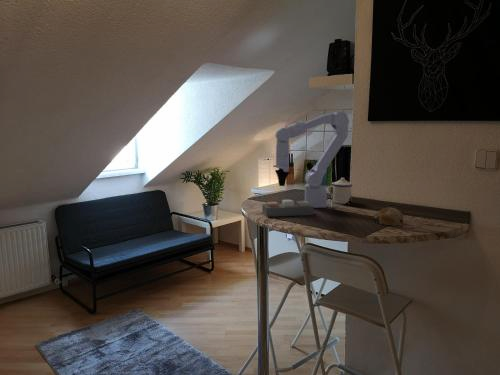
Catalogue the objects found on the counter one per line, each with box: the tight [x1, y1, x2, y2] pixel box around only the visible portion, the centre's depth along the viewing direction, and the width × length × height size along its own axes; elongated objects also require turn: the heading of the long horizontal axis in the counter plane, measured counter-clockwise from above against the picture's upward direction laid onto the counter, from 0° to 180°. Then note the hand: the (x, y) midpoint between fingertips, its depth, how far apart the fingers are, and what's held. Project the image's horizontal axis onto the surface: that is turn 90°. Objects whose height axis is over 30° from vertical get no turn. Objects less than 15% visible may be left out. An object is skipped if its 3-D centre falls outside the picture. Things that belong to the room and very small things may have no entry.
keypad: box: [261, 202, 315, 217], centre depth 172 cm, size 20×8×4 cm, turn 100°
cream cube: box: [281, 199, 295, 207], centre depth 172 cm, size 4×4×4 cm
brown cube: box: [266, 201, 279, 207], centre depth 171 cm, size 4×4×4 cm
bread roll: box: [374, 206, 404, 227], centre depth 158 cm, size 10×10×8 cm
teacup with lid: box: [327, 177, 353, 205], centre depth 197 cm, size 12×9×12 cm
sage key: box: [296, 200, 309, 206], centre depth 173 cm, size 4×4×4 cm
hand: (281, 185), depth 185 cm, fingers closed
